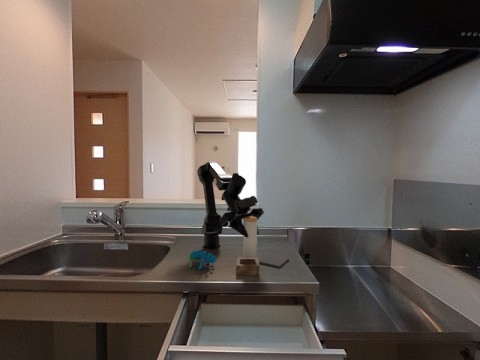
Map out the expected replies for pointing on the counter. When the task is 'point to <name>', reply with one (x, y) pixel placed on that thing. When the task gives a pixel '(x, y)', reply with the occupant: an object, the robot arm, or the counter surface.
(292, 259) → the counter surface
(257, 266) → the socket block
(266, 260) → the mat
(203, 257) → the blue lumpy piece
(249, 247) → the plug
